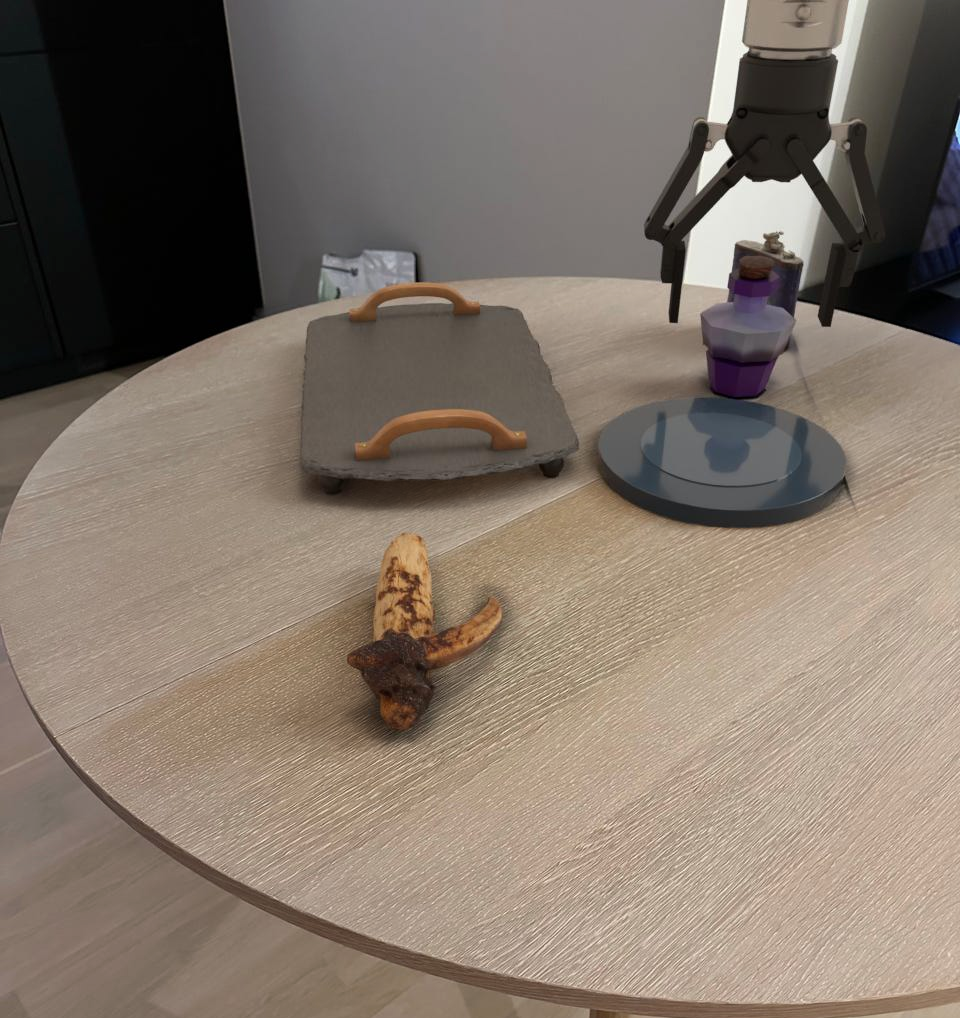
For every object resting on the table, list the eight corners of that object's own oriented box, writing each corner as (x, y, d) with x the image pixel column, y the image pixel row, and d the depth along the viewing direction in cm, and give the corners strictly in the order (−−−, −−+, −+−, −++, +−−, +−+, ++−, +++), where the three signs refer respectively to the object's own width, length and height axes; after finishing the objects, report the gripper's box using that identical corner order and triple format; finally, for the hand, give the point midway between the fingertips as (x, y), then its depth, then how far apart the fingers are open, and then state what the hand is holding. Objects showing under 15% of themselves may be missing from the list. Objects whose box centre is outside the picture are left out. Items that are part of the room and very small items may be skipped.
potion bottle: (740, 363, 97) (759, 239, 90) (802, 393, 91) (828, 263, 84) (672, 382, 94) (687, 255, 86) (732, 414, 88) (753, 281, 80)
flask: (717, 326, 105) (732, 222, 98) (738, 321, 106) (755, 218, 100) (775, 354, 99) (795, 246, 92) (797, 348, 100) (818, 241, 93)
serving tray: (309, 335, 105) (301, 277, 101) (518, 322, 107) (519, 265, 103) (300, 518, 75) (289, 445, 71) (592, 495, 77) (597, 423, 73)
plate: (821, 417, 87) (825, 399, 86) (863, 534, 71) (869, 515, 70) (599, 409, 89) (600, 392, 88) (593, 521, 74) (595, 502, 72)
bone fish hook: (508, 743, 55) (498, 563, 69) (512, 682, 52) (500, 507, 66) (346, 743, 55) (368, 562, 69) (340, 682, 52) (364, 506, 66)
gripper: (629, 58, 74) (610, 331, 87) (969, 57, 71) (897, 338, 84) (629, 45, 79) (611, 302, 93) (943, 43, 77) (879, 308, 90)
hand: (747, 320), depth 88 cm, fingers open, 13 cm apart
